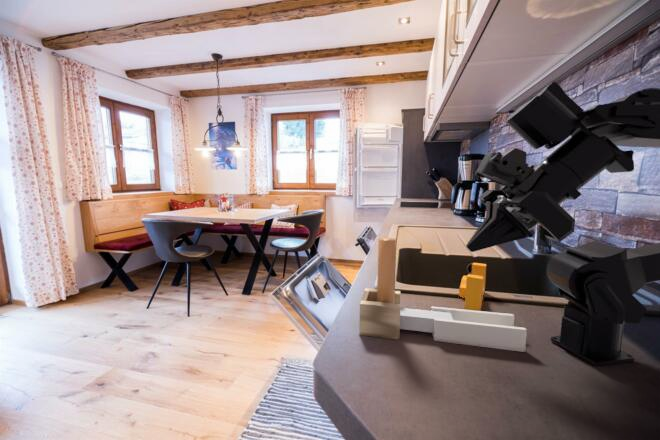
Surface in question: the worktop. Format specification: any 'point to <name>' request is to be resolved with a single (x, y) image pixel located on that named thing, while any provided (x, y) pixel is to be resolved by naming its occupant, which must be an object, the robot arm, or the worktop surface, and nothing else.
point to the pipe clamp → (473, 287)
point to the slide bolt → (386, 291)
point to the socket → (379, 316)
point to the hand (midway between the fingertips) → (468, 249)
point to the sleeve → (479, 329)
